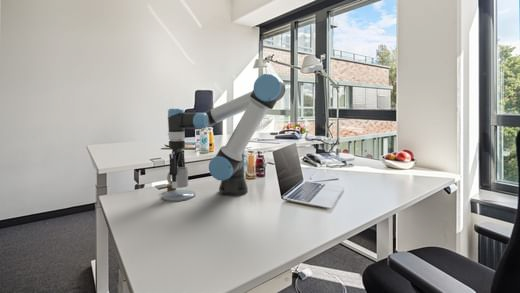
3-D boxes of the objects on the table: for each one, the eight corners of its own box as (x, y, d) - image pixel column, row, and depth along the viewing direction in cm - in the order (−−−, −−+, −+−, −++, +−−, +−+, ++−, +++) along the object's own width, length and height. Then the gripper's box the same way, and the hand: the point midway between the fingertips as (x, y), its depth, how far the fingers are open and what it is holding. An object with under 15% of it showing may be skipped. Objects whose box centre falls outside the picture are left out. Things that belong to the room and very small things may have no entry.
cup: (189, 187, 140) (188, 169, 139) (167, 189, 136) (167, 170, 135) (187, 183, 147) (186, 166, 145) (166, 185, 143) (166, 168, 142)
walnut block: (176, 190, 154) (175, 183, 153) (175, 192, 150) (174, 185, 149) (168, 190, 153) (168, 183, 152) (167, 192, 149) (167, 185, 148)
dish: (199, 192, 150) (199, 189, 150) (189, 201, 134) (188, 199, 134) (170, 191, 151) (169, 189, 151) (156, 200, 135) (156, 198, 135)
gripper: (177, 137, 149) (178, 180, 152) (160, 142, 129) (162, 191, 132) (191, 138, 149) (192, 180, 152) (176, 142, 129) (177, 191, 132)
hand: (178, 185), depth 142 cm, fingers closed on cup, 7 cm apart
